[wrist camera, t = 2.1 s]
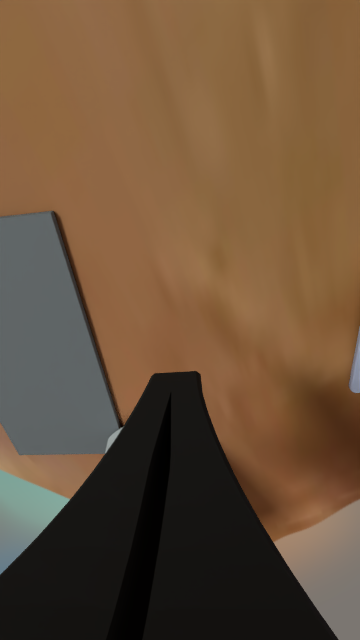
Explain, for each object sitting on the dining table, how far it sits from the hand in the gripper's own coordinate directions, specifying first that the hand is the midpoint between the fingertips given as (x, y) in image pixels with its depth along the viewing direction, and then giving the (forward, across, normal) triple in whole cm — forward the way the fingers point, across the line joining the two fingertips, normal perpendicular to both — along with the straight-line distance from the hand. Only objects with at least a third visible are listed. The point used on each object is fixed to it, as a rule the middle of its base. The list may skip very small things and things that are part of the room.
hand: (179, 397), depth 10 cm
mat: (+11, +12, +6) cm, 17 cm away
